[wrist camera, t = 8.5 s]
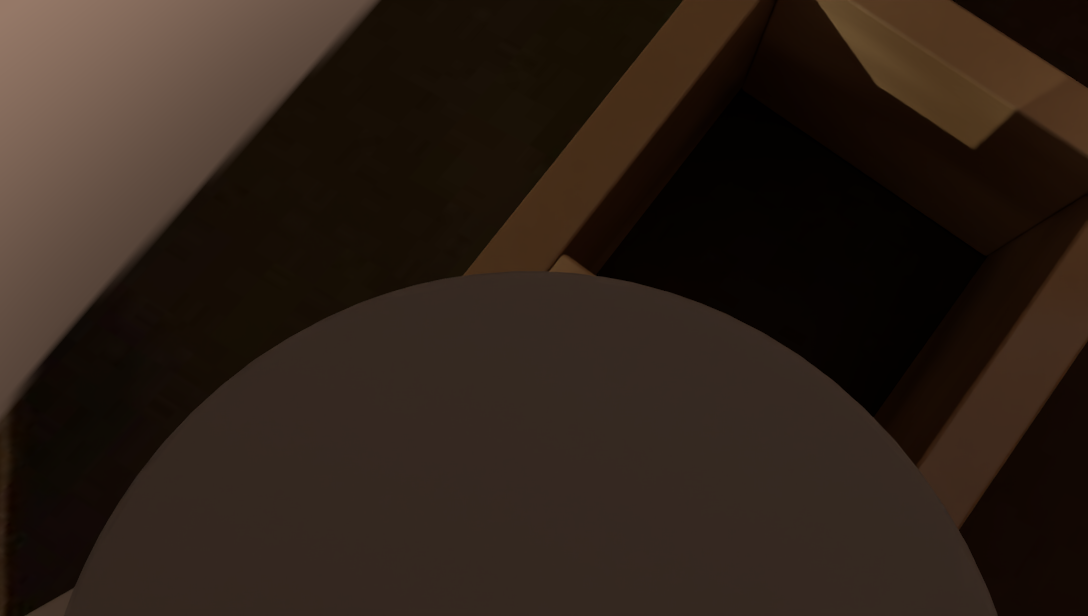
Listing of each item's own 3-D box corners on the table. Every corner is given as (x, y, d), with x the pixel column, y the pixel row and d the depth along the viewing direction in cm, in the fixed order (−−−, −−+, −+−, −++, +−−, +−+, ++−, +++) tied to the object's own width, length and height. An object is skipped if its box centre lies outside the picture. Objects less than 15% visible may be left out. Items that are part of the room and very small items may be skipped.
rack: (20, 927, 18) (-182, 1078, 13) (729, 28, 21) (774, -117, 16) (358, 1247, 17) (272, 1541, 12) (1055, 248, 20) (1209, 164, 15)
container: (717, 658, 19) (1249, 1190, 4) (474, 732, 19) (111, 1561, 4) (641, 415, 20) (850, 129, 5) (409, 484, 20) (-83, 398, 5)
